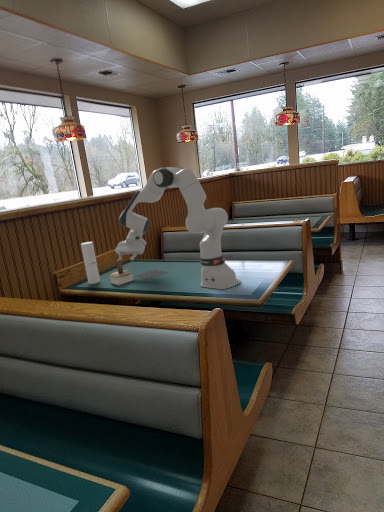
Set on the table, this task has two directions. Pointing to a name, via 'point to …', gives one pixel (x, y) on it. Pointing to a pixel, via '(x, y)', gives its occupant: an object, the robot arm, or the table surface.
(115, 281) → the white hollow square box
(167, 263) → the table surface
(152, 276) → the mat
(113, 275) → the lid
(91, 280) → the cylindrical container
